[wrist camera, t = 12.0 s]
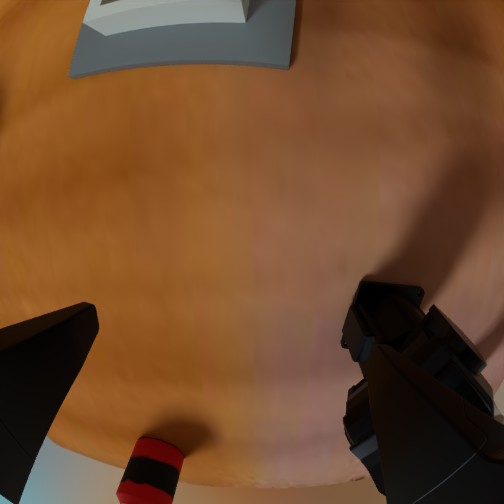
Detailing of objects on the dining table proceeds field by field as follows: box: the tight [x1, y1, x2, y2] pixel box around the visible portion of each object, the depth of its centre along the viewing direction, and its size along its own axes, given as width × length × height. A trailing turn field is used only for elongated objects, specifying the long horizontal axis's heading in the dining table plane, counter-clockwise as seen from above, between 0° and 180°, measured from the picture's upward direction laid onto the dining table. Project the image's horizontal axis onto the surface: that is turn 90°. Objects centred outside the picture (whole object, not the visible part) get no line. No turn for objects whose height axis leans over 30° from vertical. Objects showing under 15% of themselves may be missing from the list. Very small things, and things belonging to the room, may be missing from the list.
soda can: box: [116, 438, 184, 504], centre depth 26 cm, size 8×8×12 cm
